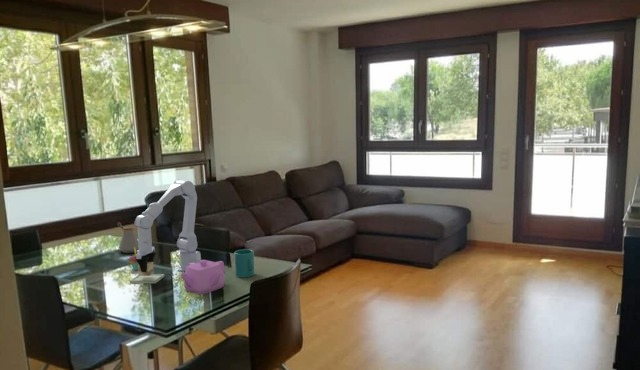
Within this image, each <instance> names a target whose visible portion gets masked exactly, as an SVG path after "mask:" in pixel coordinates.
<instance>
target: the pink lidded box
mask: <svg viewBox="0 0 640 370" xmlns="http://www.w3.org/2000/svg"><path fill="white" fill-rule="evenodd" d="M225 273H226V270H225V263H224V261H222V260H219V261H211V260H207V259H201V261H199V263H189V266H187V267H186V269H185V271H184V272H182V273H180V277H181V278H182V280H183V285H184V289H185V291H187V292H189V291H190V293H192V294H196V295H200V296H201V295H204V294H205V295H206V294H208V293H211V292H214V291H215V292H216V290H217V291H218V290H219V289H221V288H224V285H225V275H224V274H225Z"/></svg>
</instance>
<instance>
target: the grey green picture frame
mask: <svg viewBox="0 0 640 370" xmlns="http://www.w3.org/2000/svg"><path fill="white" fill-rule="evenodd" d="M165 277H166V275H165V273H153V274H151V275H150V276H139V274H138V275H136V276H135V277H133V278H131V279H130V280H129V283H130V284H157V283H158V282H159V281H161V280H162V279H163V278H165Z"/></svg>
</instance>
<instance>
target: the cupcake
mask: <svg viewBox="0 0 640 370" xmlns="http://www.w3.org/2000/svg"><path fill="white" fill-rule="evenodd" d="M133 253H134V254H132V256H130V257H129V259H128V263H129V264H130V265H131V267H132V269H133V271H138V265H139V264H138V262H137V261H136V259H135V258H136V255H137V251H136V249H135V247H134V252H133Z"/></svg>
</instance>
